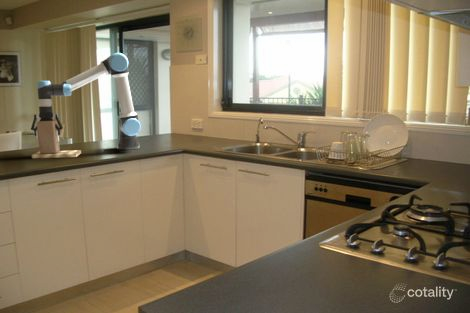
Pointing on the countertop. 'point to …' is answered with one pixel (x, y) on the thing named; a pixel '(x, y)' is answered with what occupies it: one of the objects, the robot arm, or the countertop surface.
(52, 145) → the block
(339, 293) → the countertop surface
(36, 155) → the board
